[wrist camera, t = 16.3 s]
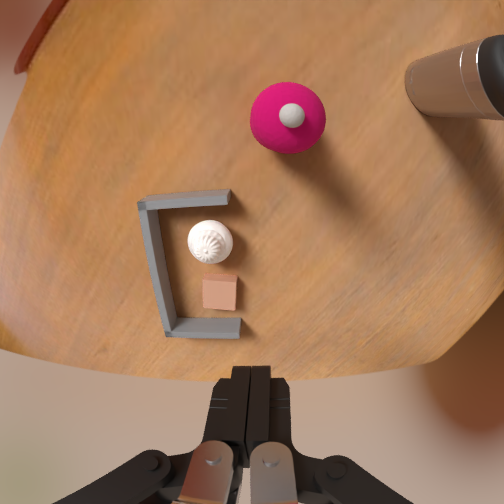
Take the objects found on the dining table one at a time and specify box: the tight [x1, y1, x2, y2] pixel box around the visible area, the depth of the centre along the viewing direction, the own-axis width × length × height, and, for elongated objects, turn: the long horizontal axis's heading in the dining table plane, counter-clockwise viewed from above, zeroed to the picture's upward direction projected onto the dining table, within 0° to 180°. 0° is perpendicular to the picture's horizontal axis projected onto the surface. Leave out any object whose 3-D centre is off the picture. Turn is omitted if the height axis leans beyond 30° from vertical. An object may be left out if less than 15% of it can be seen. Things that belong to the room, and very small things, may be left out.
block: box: [203, 273, 237, 311], centre depth 46 cm, size 5×5×2 cm
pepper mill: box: [250, 82, 326, 154], centre depth 27 cm, size 7×7×20 cm
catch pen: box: [137, 189, 241, 339], centre depth 43 cm, size 12×22×4 cm, turn 3°
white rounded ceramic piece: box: [188, 220, 233, 264], centre depth 40 cm, size 6×6×7 cm
